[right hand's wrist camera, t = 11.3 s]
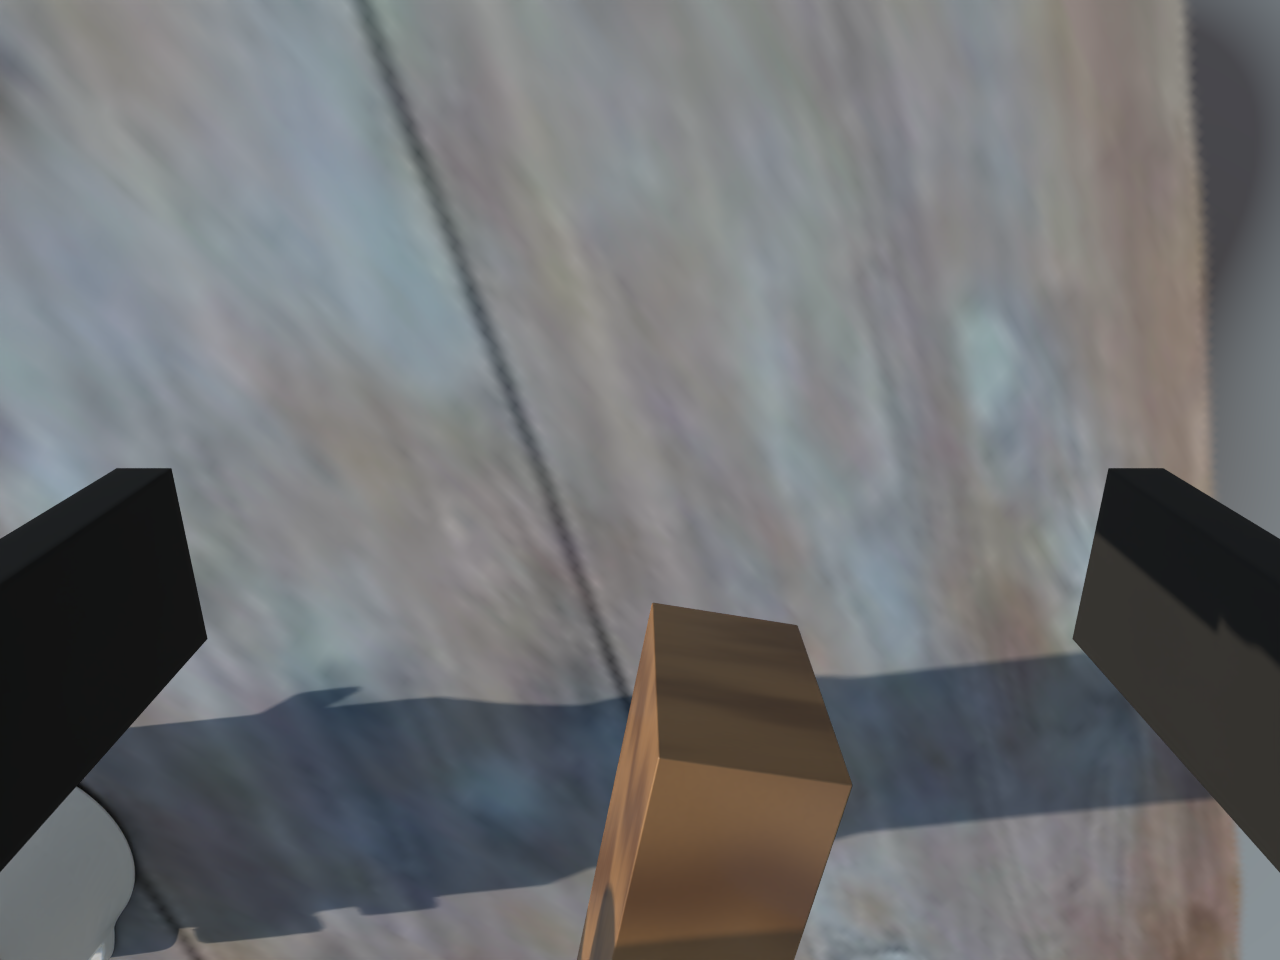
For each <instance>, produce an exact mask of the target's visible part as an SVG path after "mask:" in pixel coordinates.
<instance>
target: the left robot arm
mask: <svg viewBox="0 0 1280 960" xmlns="http://www.w3.org/2000/svg"><path fill="white" fill-rule="evenodd" d="M134 883H135V866H134V860H133V856H132V853H131V850H130V847H129V845H128V842H127V840H126V838H125V836H124V834H123V833H122V831H121V829H120V828H119V826H118V825H117V824H116V822H115V821H114V820H113V818H112V817H111V816H110V815H109V814H108V813H107V811H106V810H105V809H104V808H103V807H102V806H101V805H100V804H99V803H97V802H96V801H95V800H94V799H93V798H92V797H90V796H89V795H88V794H87V793H85V792H84V791H83V790H81V789H80V788H78V787H77V786H76V788H75V789H74V790H73V791H72V792H71V793H70V794H69V795H68V797H67V798H66V799H65V800H64V801H63V802H62V803H61V804H60V806H59V807H58V808H57V809H56V810H55V811H54V812H53V813H52V815H51V816H50V817H49V818H48V819H47V820H46V821H45V822H44V824H43V825H42V826H41V827H40V828H39V829H38V830H37V832H36V833H35V834H34V835H33V836H32V837H31V838H30V839H29V841H28V842H27V843H26V844H25V845H24V846H23V847H22V848H21V850H20V851H19V852H18V853H17V854H16V855H15V856H14V857H13V859H12V860H11V861H10V862H9V863H8V864H7V865H6V866H5V868H4V869H3V870H2V871H1V872H0V960H108V959H109V958H110V957H111V955H112V954H113V951H114V944H115V930H114V926H115V924H116V921H117V919H118V917H119V916H120V914H121V913H122V911H123V910H124V908H125V907H126V905H127V904H128V902H129V900H130V897H131V895H132V892H133V888H134Z"/></svg>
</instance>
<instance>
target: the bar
mask: <svg viewBox="0 0 1280 960" xmlns="http://www.w3.org/2000/svg"><path fill="white" fill-rule="evenodd" d="M851 788H852V782H851V779H850V776H849V774H848V771H847V768H846V765H845V762H844V759H843V756H842V753H841V750H840V747H839V745H838V742H837V739H836V736H835V733H834V730H833V727H832V724H831V721H830V718H829V716H828V713H827V710H826V707H825V704H824V701H823V698H822V695H821V692H820V689H819V686H818V684H817V681H816V678H815V675H814V672H813V669H812V666H811V663H810V660H809V657H808V655H807V652H806V649H805V646H804V643H803V640H802V637H801V634H800V631H799V628H798V626H797V625H792V624H786V623H779V622H773V621H767V620H760V619H754V618H747V617H741V616H735V615H728V614H722V613H715V612H709V611H703V610H696V609H690V608H684V607H677V606H671V605H664V604H658V603H652V606H651V611H650V615H649V620H648V625H647V630H646V634H645V639H644V644H643V649H642V653H641V658H640V663H639V668H638V672H637V677H636V682H635V687H634V691H633V696H632V701H631V705H630V710H629V715H628V720H627V724H626V729H625V734H624V739H623V743H622V748H621V753H620V758H619V762H618V767H617V772H616V777H615V781H614V786H613V791H612V796H611V800H610V805H609V810H608V815H607V819H606V824H605V829H604V834H603V838H602V843H601V848H600V853H599V857H598V862H597V867H596V872H595V876H594V881H593V886H592V891H591V895H590V900H589V905H588V910H587V914H586V919H585V924H584V929H583V933H582V938H581V943H580V948H579V952H578V957H577V960H794V958H795V955H796V952H797V949H798V946H799V943H800V940H801V937H802V934H803V931H804V928H805V925H806V922H807V919H808V916H809V914H810V911H811V908H812V905H813V902H814V899H815V896H816V893H817V890H818V887H819V884H820V881H821V878H822V875H823V872H824V869H825V866H826V863H827V860H828V857H829V854H830V851H831V848H832V845H833V842H834V839H835V836H836V833H837V830H838V827H839V824H840V821H841V818H842V815H843V812H844V809H845V806H846V803H847V800H848V797H849V794H850V791H851Z"/></svg>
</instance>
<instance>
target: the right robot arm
mask: <svg viewBox="0 0 1280 960" xmlns="http://www.w3.org/2000/svg"><path fill="white" fill-rule="evenodd" d="M206 640H207V635H206V630H205V625H204V620H203V616H202V611H201V606H200V602H199V597H198V592H197V587H196V583H195V578H194V573H193V568H192V564H191V559H190V554H189V549H188V545H187V540H186V535H185V531H184V526H183V521H182V516H181V512H180V507H179V502H178V497H177V493H176V488H175V483H174V478H173V474H172V469H171V468H116V469H115V470H113V471H112V472H110V473H108V474H107V475H105V476H103V477H102V478H100V479H98V480H97V481H95V482H93V483H92V484H90V485H88V486H87V487H85V488H84V489H82V490H80V491H79V492H77V493H75V494H74V495H72V496H70V497H69V498H67V499H65V500H64V501H62V502H60V503H59V504H57V505H55V506H54V507H52V508H51V509H49V510H47V511H46V512H44V513H42V514H41V515H39V516H37V517H36V518H34V519H32V520H31V521H29V522H27V523H26V524H24V525H22V526H21V527H19V528H18V529H16V530H14V531H13V532H11V533H9V534H8V535H6V536H4V537H3V538H1V539H0V872H1V871H2V870H3V869H4V868H5V866H6V865H7V864H8V863H9V862H10V861H11V860H12V859H13V857H14V856H15V855H16V854H17V853H18V852H19V851H20V850H21V848H22V847H23V846H24V845H25V844H26V843H27V842H28V841H29V839H30V838H31V837H32V836H33V835H34V834H35V833H36V832H37V830H38V829H39V828H40V827H41V826H42V825H43V824H44V822H45V821H46V820H47V819H48V818H49V817H50V816H51V815H52V813H53V812H54V811H55V810H56V809H57V808H58V807H59V806H60V804H61V803H62V802H63V801H64V800H65V799H66V798H67V797H68V795H69V794H70V793H71V792H72V791H73V790H74V789H75V788H76V786H77V785H78V784H79V783H80V782H81V781H82V780H83V779H84V777H85V776H86V775H87V774H88V773H89V772H90V771H91V769H92V768H93V767H94V766H95V765H96V764H97V763H98V762H99V760H100V759H101V758H102V757H103V756H104V755H105V754H106V753H107V751H108V750H109V749H110V748H111V747H112V746H113V745H114V744H115V742H116V741H117V740H118V739H119V738H120V737H121V736H122V735H123V733H124V732H125V731H126V730H127V729H128V728H129V727H130V726H131V724H132V723H133V722H134V721H135V720H136V719H137V718H138V716H139V715H140V714H141V713H142V712H143V711H144V710H145V709H146V707H147V706H148V705H149V704H150V703H151V702H152V701H153V700H154V698H155V697H156V696H157V695H158V694H159V693H160V692H161V691H162V689H163V688H164V687H165V686H166V685H167V684H168V683H169V682H170V680H171V679H172V678H173V677H174V676H175V675H176V674H177V673H178V671H179V670H180V669H181V668H182V667H183V666H184V665H185V663H186V662H187V661H188V660H189V659H190V658H191V657H192V656H193V654H194V653H195V652H196V651H197V650H198V649H199V648H200V647H201V645H202V644H203V643H204V642H205V641H206ZM1073 640H1074V641H1075V642H1076V643H1077V644H1078V645H1079V647H1080V648H1081V649H1082V650H1083V651H1084V652H1085V653H1086V654H1087V656H1088V657H1089V658H1090V659H1091V660H1092V661H1093V662H1094V663H1095V665H1096V666H1097V667H1098V668H1099V669H1100V670H1101V671H1102V673H1103V674H1104V675H1105V676H1106V677H1107V678H1108V679H1109V680H1110V682H1111V683H1112V684H1113V685H1114V686H1115V687H1116V688H1117V689H1118V691H1119V692H1120V693H1121V694H1122V695H1123V696H1124V697H1125V698H1126V700H1127V701H1128V702H1129V703H1130V704H1131V705H1132V706H1133V707H1134V709H1135V710H1136V711H1137V712H1138V713H1139V714H1140V715H1141V716H1142V718H1143V719H1144V720H1145V721H1146V722H1147V723H1148V724H1149V726H1150V727H1151V728H1152V729H1153V730H1154V731H1155V732H1156V733H1157V735H1158V736H1159V737H1160V738H1161V739H1162V740H1163V741H1164V742H1165V744H1166V745H1167V746H1168V747H1169V748H1170V749H1171V750H1172V751H1173V753H1174V754H1175V755H1176V756H1177V757H1178V758H1179V759H1180V760H1181V762H1182V763H1183V764H1184V765H1185V766H1186V767H1187V768H1188V769H1189V771H1190V772H1191V773H1192V774H1193V775H1194V776H1195V777H1196V779H1197V780H1198V781H1199V782H1200V783H1201V784H1202V785H1203V786H1204V788H1205V789H1206V790H1207V791H1208V792H1209V793H1210V794H1211V795H1212V797H1213V798H1214V799H1215V800H1216V801H1217V802H1218V803H1219V804H1220V806H1221V807H1222V808H1223V809H1224V810H1225V811H1226V812H1227V813H1228V815H1229V816H1230V817H1231V818H1232V819H1233V820H1234V821H1235V822H1236V824H1237V825H1238V826H1239V827H1240V828H1241V829H1242V830H1243V832H1244V833H1245V834H1246V835H1247V836H1248V837H1249V838H1250V839H1251V841H1252V842H1253V843H1254V844H1255V845H1256V846H1257V847H1258V848H1259V850H1260V851H1261V852H1262V853H1263V854H1264V855H1265V856H1266V857H1267V859H1268V860H1269V861H1270V862H1271V863H1272V864H1273V865H1274V866H1275V868H1276V869H1277V870H1278V871H1279V872H1280V539H1279V538H1277V537H1276V536H1274V535H1272V534H1271V533H1269V532H1267V531H1266V530H1264V529H1262V528H1261V527H1259V526H1258V525H1256V524H1254V523H1253V522H1251V521H1249V520H1248V519H1246V518H1244V517H1243V516H1241V515H1239V514H1238V513H1236V512H1234V511H1233V510H1231V509H1229V508H1228V507H1226V506H1225V505H1223V504H1221V503H1220V502H1218V501H1216V500H1215V499H1213V498H1211V497H1210V496H1208V495H1206V494H1205V493H1203V492H1201V491H1200V490H1198V489H1196V488H1195V487H1193V486H1192V485H1190V484H1188V483H1187V482H1185V481H1183V480H1182V479H1180V478H1178V477H1177V476H1175V475H1173V474H1172V473H1170V472H1168V471H1167V470H1165V469H1164V468H1109V469H1108V474H1107V478H1106V483H1105V488H1104V493H1103V497H1102V502H1101V507H1100V512H1099V516H1098V521H1097V526H1096V531H1095V535H1094V540H1093V545H1092V549H1091V554H1090V559H1089V564H1088V568H1087V573H1086V578H1085V583H1084V587H1083V592H1082V597H1081V602H1080V606H1079V611H1078V616H1077V620H1076V625H1075V630H1074V635H1073Z"/></svg>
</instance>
